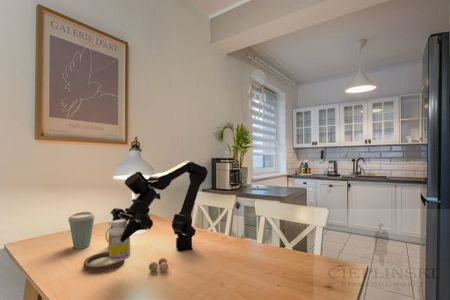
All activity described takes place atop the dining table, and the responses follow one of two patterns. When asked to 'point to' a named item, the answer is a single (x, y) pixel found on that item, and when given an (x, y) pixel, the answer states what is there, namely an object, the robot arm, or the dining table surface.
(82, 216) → the disposable coffee cup
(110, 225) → the mug
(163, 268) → the pinkish tan ball
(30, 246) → the dining table surface
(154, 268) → the bead maple
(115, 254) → the supplement bottle
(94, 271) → the faceted wooden bowl
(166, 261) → the bead honey
